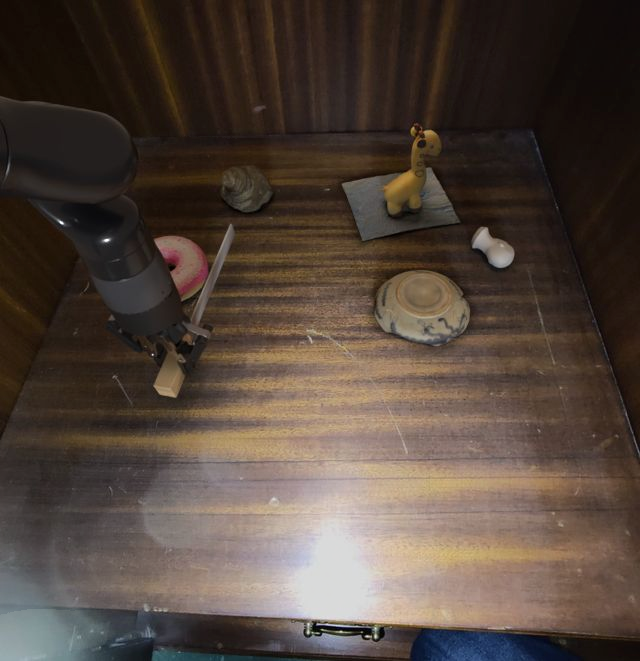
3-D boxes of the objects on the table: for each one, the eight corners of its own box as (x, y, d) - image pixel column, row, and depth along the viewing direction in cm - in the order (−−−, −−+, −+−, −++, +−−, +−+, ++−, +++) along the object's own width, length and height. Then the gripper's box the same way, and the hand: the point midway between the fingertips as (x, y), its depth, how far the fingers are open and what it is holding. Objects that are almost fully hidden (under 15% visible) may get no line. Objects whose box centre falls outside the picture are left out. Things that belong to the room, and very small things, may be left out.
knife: (176, 397, 67) (170, 389, 65) (159, 394, 68) (153, 385, 65) (241, 235, 82) (238, 223, 80) (227, 233, 83) (223, 221, 81)
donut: (163, 325, 82) (153, 305, 78) (115, 283, 87) (104, 262, 83) (227, 276, 87) (221, 256, 83) (178, 240, 93) (171, 219, 89)
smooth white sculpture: (513, 271, 87) (492, 275, 84) (484, 240, 91) (463, 244, 89) (527, 251, 84) (505, 255, 81) (496, 221, 88) (474, 224, 85)
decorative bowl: (356, 294, 84) (407, 362, 76) (356, 279, 81) (409, 348, 73) (433, 261, 88) (489, 323, 80) (436, 245, 85) (495, 308, 77)
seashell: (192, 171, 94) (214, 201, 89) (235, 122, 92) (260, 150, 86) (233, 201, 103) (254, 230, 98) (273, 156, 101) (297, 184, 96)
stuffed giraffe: (460, 223, 92) (474, 143, 79) (362, 243, 91) (361, 166, 78) (430, 170, 102) (439, 92, 89) (342, 188, 101) (337, 111, 88)
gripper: (60, 301, 54) (119, 383, 69) (184, 321, 52) (218, 401, 66) (93, 250, 59) (142, 337, 73) (209, 267, 56) (236, 353, 70)
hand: (179, 367), depth 69 cm, fingers closed on knife, 2 cm apart
